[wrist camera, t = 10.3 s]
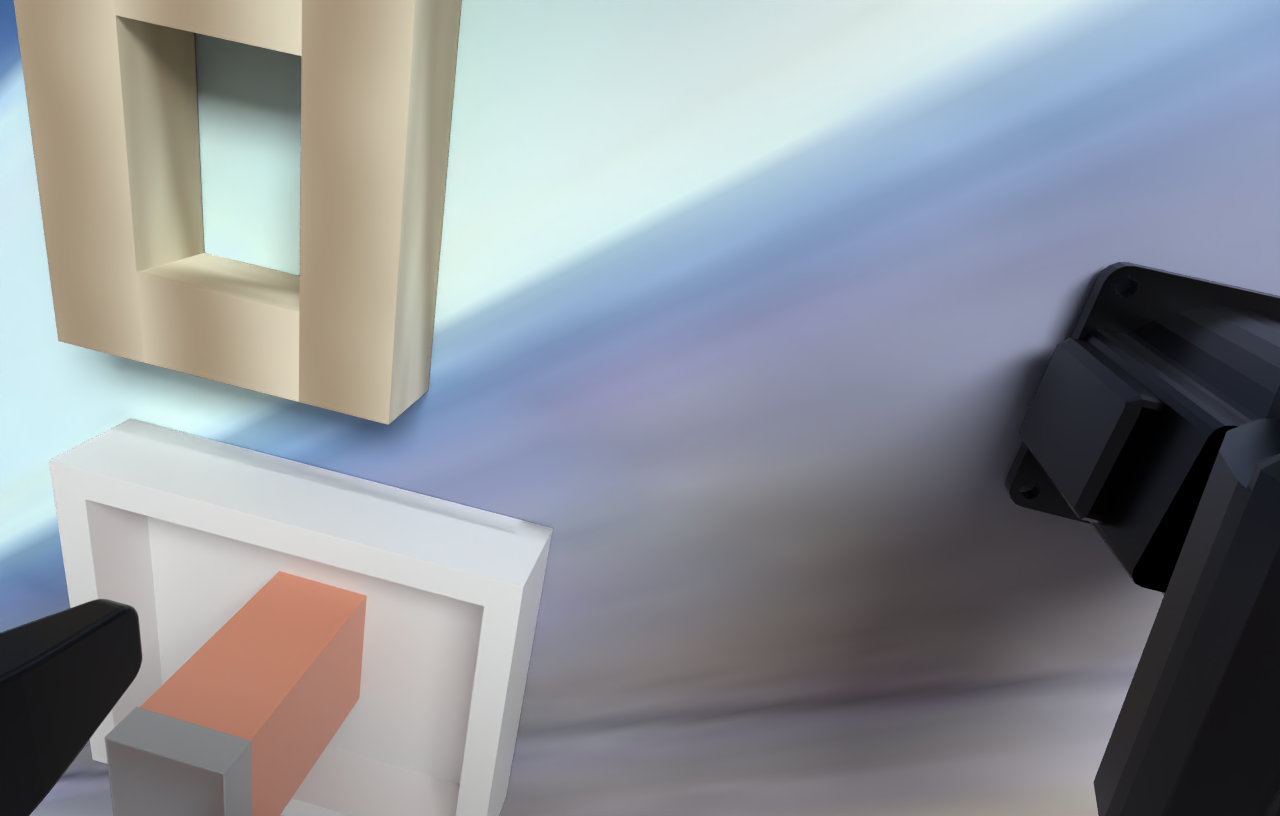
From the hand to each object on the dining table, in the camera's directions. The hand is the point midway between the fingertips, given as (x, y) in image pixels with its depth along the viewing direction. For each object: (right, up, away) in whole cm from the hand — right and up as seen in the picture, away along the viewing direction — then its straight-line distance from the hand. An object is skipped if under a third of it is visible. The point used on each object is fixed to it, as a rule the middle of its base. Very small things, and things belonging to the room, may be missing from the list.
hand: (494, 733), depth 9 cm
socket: (-8, +10, +11) cm, 17 cm away
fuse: (-9, -4, +17) cm, 19 cm away
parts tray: (-9, -4, +17) cm, 20 cm away
